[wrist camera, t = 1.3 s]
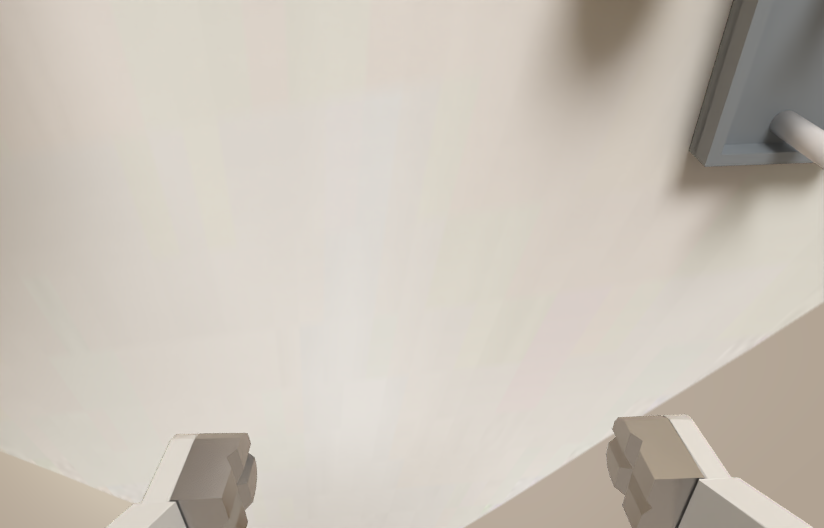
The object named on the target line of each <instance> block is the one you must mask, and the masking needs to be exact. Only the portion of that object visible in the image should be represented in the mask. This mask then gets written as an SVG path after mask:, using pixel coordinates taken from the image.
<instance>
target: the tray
mask: <svg viewBox="0 0 824 528" xmlns="http://www.w3.org/2000/svg"><path fill="white" fill-rule="evenodd" d="M689 151H690V152H691V153H692V154H693V155H694V156H695V157H696V158H697V159H698V160H699V161H700V162H701V163H702V164H703V165H704V166H705V167H709V166H735V165H761V164H787V163H813V162H814V163H815V164H817V165H818V166H819V167H821V168H822V169H824V0H734V1H733V4H732V7H731V11H730V14H729V18H728V21H727V24H726V28H725V31H724V34H723V38H722V41H721V44H720V48H719V51H718V55H717V58H716V61H715V65H714V68H713V71H712V75H711V78H710V82H709V85H708V88H707V92H706V95H705V98H704V102H703V105H702V108H701V112H700V115H699V119H698V122H697V125H696V129H695V132H694V135H693V139H692V142H691V146H690V149H689Z"/></svg>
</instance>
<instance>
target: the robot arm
mask: <svg viewBox="0 0 824 528" xmlns="http://www.w3.org/2000/svg"><path fill="white" fill-rule="evenodd" d="M612 430H613V432H614V434H615V436H616V437H615V438H614V439H613V440H612V441H610V442H609V444H608V448H607V453H606V457H607V468H608V471H609V475H610V478H611V480H612V483H613V485H614V487H615V488H617V489H618V490H619V491H620V492H621V493H623V494H624V495H625V497H624V501H623V504H622V506H623V508H624V511H625V513H626V515H627V517H628V520H629V522H630V524H631V527H632V528H813V527H812V526H810V525H809V524H807V523H806V522H804V521H803V520H801V519H800V518H798V517H797V516H795V515H794V514H792V513H791V512H789V511H788V510H786V509H785V508H783V507H782V506H780V505H779V504H778V503H776V502H774V501H773V500H771V499H770V498H769V497H767V496H766V495H764V494H762V493H761V492H759V491H758V490H757V489H755V488H753V487H752V486H751V485H749V484H748V483H746V482H744V481H743V480H741V479H740V478H738V477H737V478H736V477H734V478H732V477H731V476H730V475H729V473H728V472H727V470H726V469H725V467H724V466H723V464H722V463H721V461H720V460H719V458H718V457H717V455H716V454H715V452H714V451H713V449H712V448H711V447H710V445H709V443H708V442H707V441H706V439H705V438H704V436H703V435H702V433H701V432H700V430H699V429H698V427H697V426H696V424H695V423H694V421H693V420H692V418H690V417H689V416H688V415H663V416H661V415H656V416H636V417H618V418H617V419H616V420H615V422H614V425H613V429H612ZM250 445H251V442H250V439H249V436H248V433H204V434H176V435H175V436H174V437H173V438H172V439H171V440H170V442H169V444H168V446H167V448H166V451H165V453H164V455H163V457H162V459H161V461H160V463H159V465H158V468H157V470H156V472H155V474H154V476H153V478H152V480H151V483H150V485H149V487H148V489H147V491H146V493H145V495H144V498H143V500H142V502H141V503H134V504H132V505H131V506H130V507H129V508H128V509H127V510H125V511H124V512H123V513H122V514H121V515H120V516H118V517H117V518H116V519H115V520H114V521H112V522H111V523H110V524H109V525H108V526H106V528H246V527H247V523H248V520H247V517H246V513H245V510H246V509H247V507H248V506H249V505H250V504H251V503H252V502H253V499H254V495H255V491H256V483H257V466H256V461H255V457H253V456H252V455H251V454H249V449H250Z"/></svg>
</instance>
